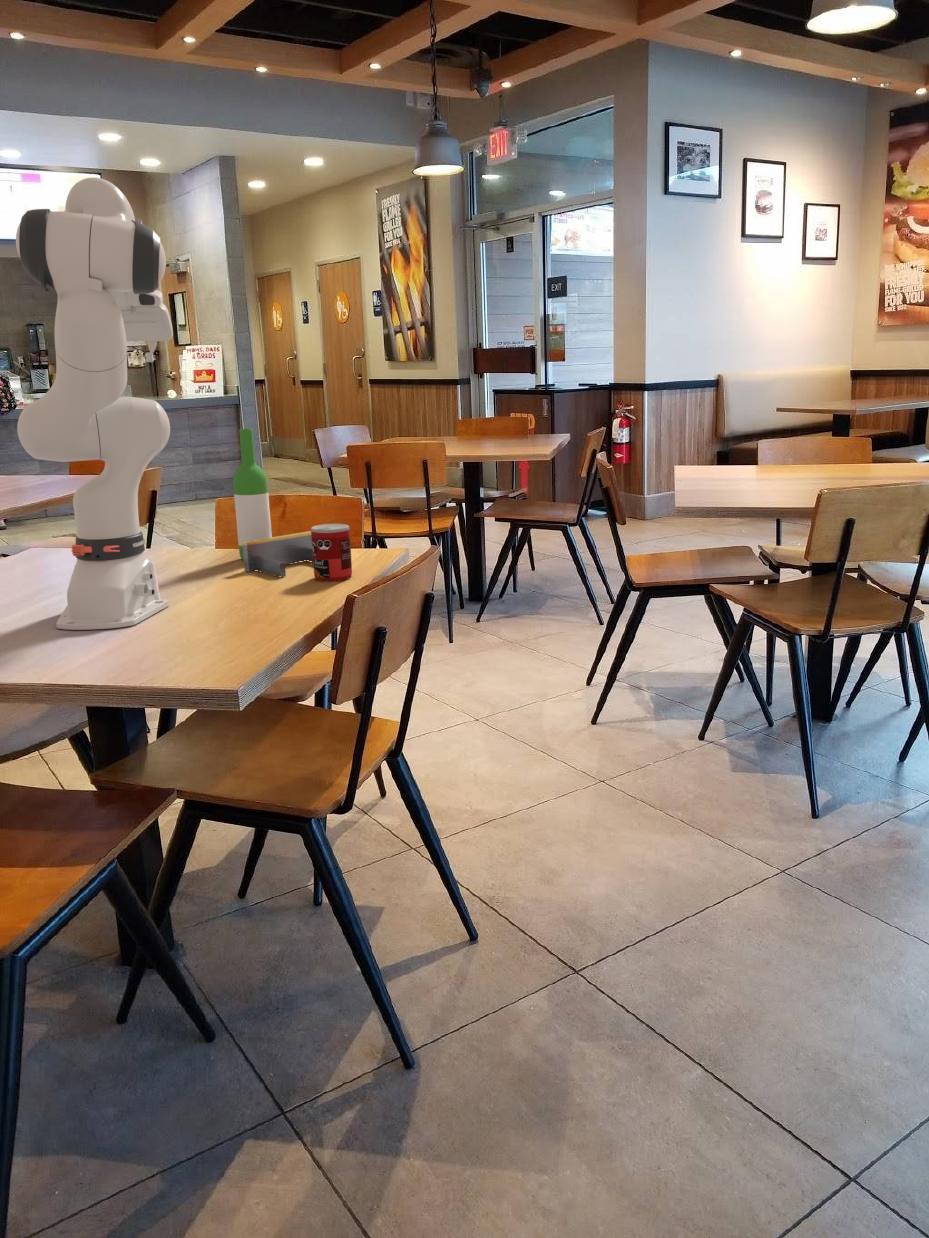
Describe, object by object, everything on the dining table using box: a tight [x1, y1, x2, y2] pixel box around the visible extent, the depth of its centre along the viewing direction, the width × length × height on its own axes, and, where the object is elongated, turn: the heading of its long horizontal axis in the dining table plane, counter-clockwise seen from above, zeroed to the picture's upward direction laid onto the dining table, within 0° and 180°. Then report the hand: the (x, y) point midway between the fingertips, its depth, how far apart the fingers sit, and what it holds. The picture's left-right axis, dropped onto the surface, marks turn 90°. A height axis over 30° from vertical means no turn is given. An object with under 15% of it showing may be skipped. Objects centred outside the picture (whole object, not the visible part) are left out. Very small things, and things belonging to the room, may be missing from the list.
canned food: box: [310, 523, 353, 582], centre depth 201 cm, size 8×8×11 cm
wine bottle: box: [232, 428, 273, 561], centre depth 220 cm, size 8×8×30 cm
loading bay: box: [242, 530, 313, 578], centre depth 212 cm, size 12×18×6 cm, turn 133°
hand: (127, 361), depth 205 cm, fingers open, 8 cm apart
